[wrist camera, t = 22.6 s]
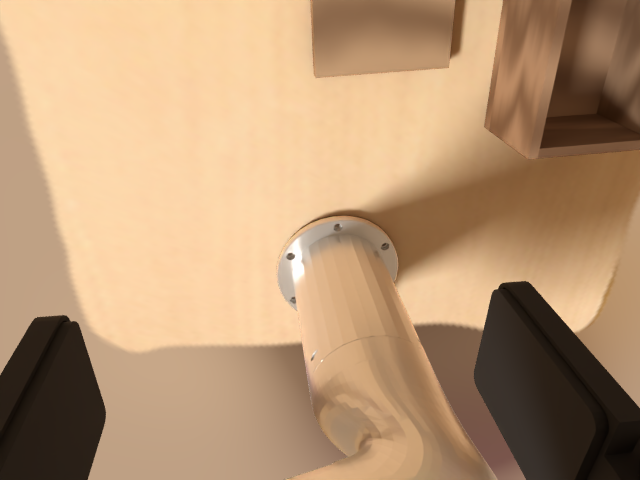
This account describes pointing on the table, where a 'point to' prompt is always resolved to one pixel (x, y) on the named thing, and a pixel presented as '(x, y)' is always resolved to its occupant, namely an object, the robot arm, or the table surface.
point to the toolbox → (567, 77)
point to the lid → (380, 36)
